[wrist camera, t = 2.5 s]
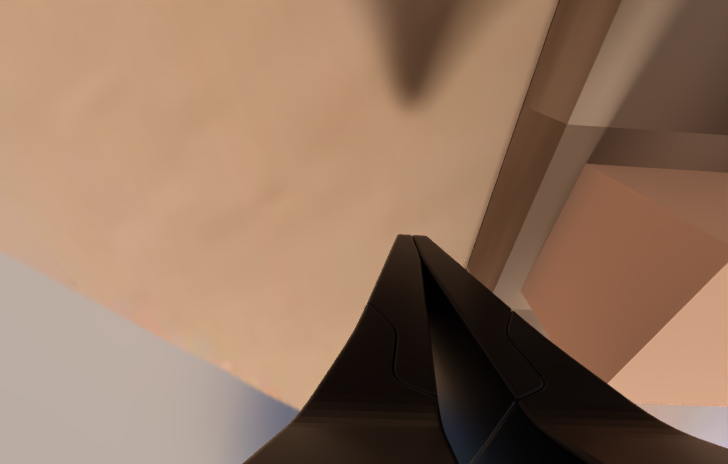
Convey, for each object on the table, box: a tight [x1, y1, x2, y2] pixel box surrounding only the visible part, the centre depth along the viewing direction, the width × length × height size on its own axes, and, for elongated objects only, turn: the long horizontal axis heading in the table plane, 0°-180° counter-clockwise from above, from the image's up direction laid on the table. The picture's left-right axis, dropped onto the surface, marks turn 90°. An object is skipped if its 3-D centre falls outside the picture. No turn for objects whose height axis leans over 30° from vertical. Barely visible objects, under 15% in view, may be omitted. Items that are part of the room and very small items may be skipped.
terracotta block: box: [521, 164, 728, 407], centre depth 8 cm, size 5×5×4 cm
